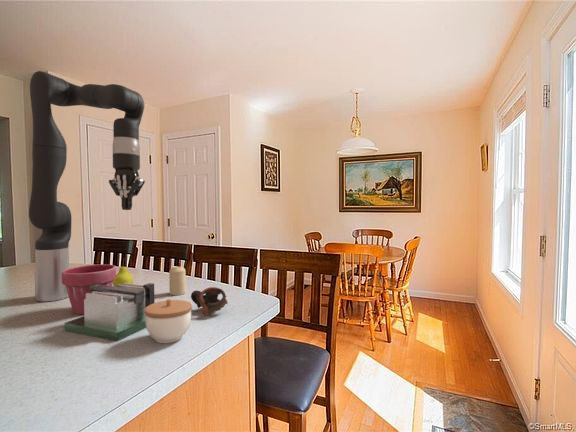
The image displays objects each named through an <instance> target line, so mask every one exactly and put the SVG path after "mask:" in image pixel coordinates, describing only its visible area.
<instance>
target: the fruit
mask: <svg viewBox="0 0 576 432" xmlns="http://www.w3.org/2000/svg"><path fill="white" fill-rule="evenodd" d="M124 263H125V257H123V260H122V264H121V265H122V266H120V268H119V270H118V272H117V273H116V278H115V279H114V280H113V284H112V286H115V287H117V285H122V283H128V284H134V276H133V275H132V274H131V273H130V272H128V268H127V267H126V266H124Z"/></svg>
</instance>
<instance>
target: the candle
mask: <svg viewBox="0 0 576 432" xmlns="http://www.w3.org/2000/svg"><path fill="white" fill-rule="evenodd" d="M168 273H169V279H168V280H169V295H170V296H182V295H185V294H186V292H187V291H186V284H187V283H186V280H187V279H186V268H185V267H183V266H182V265H181V266H177V265H176V266H175V265H174V266H172V267H171V268H170V270H169V272H168Z"/></svg>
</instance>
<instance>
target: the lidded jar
mask: <svg viewBox="0 0 576 432" xmlns="http://www.w3.org/2000/svg"><path fill="white" fill-rule="evenodd" d="M192 309H193V305H192V303H191V302H190V301H187V300H183V299H182V300H181V299H171V298H168V299H166V300H162V301H157V302H154V303H153V304H151V305H149V306H147V307H146V308H145V322H146V327H147V328H146V330H147V332H148V334H149V336H151V338H152V339H154V340H155V342H157V343H160V344H169V343H175V342H177V341H180V340H181V339H182V338H183V335H185V334H186V332H187V331H188V330H189V328H190V325H191V322H192V321H191V320H192Z"/></svg>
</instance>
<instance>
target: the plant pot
mask: <svg viewBox="0 0 576 432" xmlns="http://www.w3.org/2000/svg"><path fill="white" fill-rule="evenodd" d="M116 275H117V268H116V265H114V264H108V263H107V264H106V263H105V264H89V265H80V266H74V267H69V269H66V270H63V271H62V284H63V285H66V289H67V293H68V296H69V297H68V299H69V303H70V305H71V306H70V307H71V310H72V313H74V314H76V315H84V299H86V293H88V291H89V290H91V289H90V286H93V285H97V284H101V285H107V286H113V280H114V279H115V278H116ZM103 292H104V293H107V292H105V291H103Z"/></svg>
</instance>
